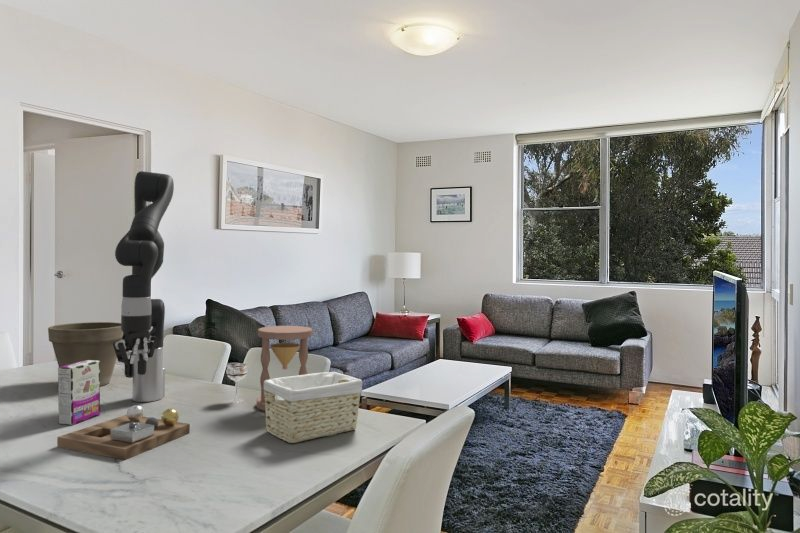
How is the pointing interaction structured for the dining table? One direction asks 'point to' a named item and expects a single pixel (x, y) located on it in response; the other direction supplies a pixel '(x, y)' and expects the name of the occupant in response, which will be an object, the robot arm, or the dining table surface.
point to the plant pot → (87, 344)
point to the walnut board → (101, 444)
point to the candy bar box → (79, 391)
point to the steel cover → (132, 432)
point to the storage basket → (311, 405)
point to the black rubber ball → (152, 421)
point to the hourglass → (282, 351)
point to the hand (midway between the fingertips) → (135, 375)
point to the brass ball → (170, 417)
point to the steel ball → (135, 413)
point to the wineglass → (236, 376)
